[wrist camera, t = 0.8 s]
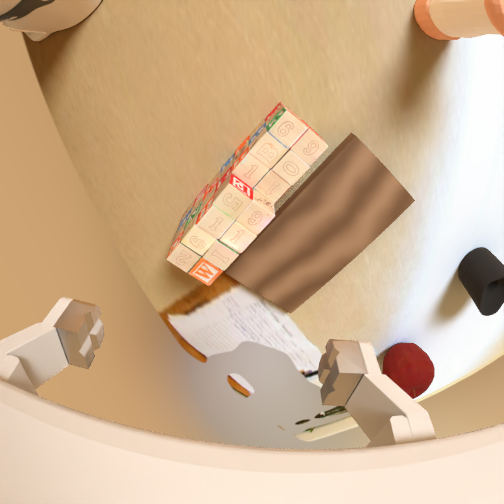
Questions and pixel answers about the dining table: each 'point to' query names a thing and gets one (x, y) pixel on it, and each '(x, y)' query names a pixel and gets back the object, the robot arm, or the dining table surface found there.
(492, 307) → the pen holder
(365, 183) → the walnut board
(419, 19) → the pepper shaker
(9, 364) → the robot arm
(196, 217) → the stack of blocks
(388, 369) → the apple
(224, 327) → the dining table surface
